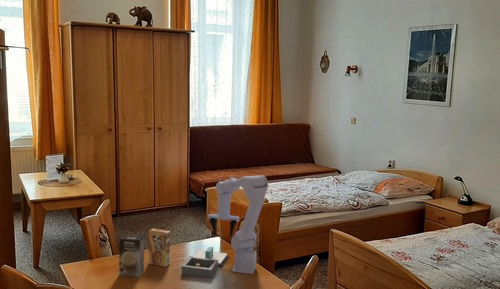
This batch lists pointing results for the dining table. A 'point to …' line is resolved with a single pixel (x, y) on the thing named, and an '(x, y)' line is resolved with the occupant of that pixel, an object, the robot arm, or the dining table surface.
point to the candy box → (159, 247)
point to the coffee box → (131, 255)
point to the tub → (199, 267)
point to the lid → (211, 255)
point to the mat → (223, 262)
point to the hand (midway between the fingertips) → (223, 234)
